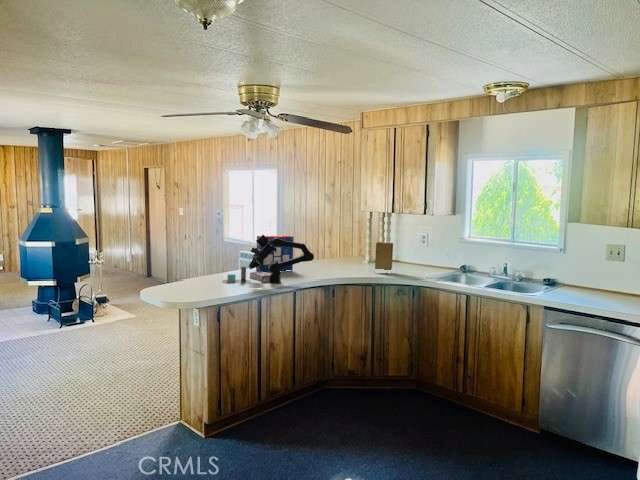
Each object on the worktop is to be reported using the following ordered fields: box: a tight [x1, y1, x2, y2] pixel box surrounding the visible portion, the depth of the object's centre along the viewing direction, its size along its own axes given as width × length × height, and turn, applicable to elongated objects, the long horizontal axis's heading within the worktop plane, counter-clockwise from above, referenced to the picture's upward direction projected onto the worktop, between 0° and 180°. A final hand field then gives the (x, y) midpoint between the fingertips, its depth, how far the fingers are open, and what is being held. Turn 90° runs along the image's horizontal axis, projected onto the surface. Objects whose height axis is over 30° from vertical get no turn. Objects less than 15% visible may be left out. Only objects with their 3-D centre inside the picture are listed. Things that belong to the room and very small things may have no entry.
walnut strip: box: [221, 266, 252, 284], centre depth 324 cm, size 19×12×11 cm, turn 102°
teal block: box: [227, 272, 236, 282], centre depth 323 cm, size 5×5×5 cm
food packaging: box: [374, 241, 394, 270], centre depth 390 cm, size 13×9×25 cm
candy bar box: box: [249, 271, 272, 283], centre depth 338 cm, size 11×5×16 cm
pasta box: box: [255, 235, 295, 273], centre depth 378 cm, size 28×8×28 cm, turn 121°
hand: (249, 267), depth 325 cm, fingers open, 9 cm apart
